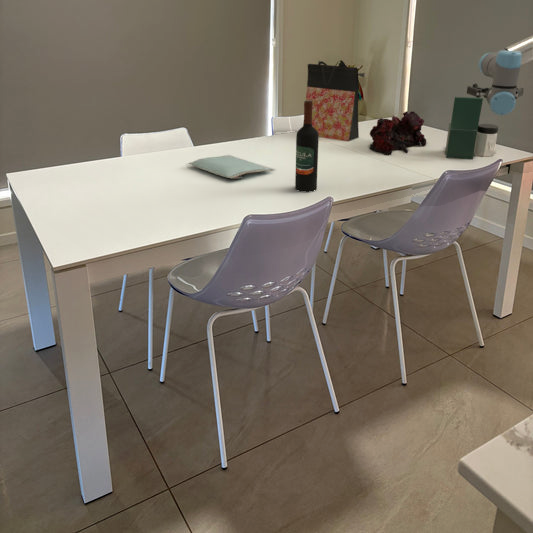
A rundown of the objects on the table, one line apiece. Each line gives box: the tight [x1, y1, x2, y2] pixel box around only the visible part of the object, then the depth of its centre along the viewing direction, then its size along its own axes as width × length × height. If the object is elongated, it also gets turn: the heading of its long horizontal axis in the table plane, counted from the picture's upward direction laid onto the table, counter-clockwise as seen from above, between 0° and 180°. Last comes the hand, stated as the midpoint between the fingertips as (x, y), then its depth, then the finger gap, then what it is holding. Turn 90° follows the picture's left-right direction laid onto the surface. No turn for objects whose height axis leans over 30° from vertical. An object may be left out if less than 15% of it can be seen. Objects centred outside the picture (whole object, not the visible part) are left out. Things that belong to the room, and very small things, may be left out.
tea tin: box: [445, 122, 477, 160], centre depth 247 cm, size 13×11×12 cm
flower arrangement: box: [369, 110, 427, 156], centre depth 259 cm, size 31×20×15 cm, turn 137°
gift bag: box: [302, 59, 366, 142], centre depth 274 cm, size 29×14×35 cm, turn 53°
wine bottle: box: [294, 100, 320, 193], centre depth 201 cm, size 8×8×30 cm
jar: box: [473, 123, 499, 158], centre depth 248 cm, size 9×8×12 cm
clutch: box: [188, 155, 273, 179], centre depth 228 cm, size 28×4×20 cm
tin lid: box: [450, 96, 484, 130], centre depth 235 cm, size 13×11×1 cm
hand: (492, 87), depth 221 cm, fingers open, 12 cm apart
